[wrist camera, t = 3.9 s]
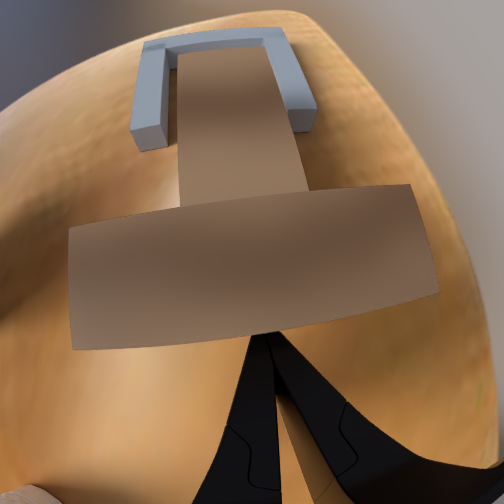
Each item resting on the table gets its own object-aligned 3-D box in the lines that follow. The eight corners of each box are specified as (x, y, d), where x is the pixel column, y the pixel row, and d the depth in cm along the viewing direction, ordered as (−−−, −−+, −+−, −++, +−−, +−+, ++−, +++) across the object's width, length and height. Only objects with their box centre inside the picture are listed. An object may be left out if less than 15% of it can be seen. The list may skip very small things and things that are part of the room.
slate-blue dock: (310, 131, 19) (318, 108, 17) (140, 152, 18) (129, 130, 16) (278, 47, 22) (281, 27, 19) (149, 61, 21) (144, 42, 18)
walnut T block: (355, 311, 16) (440, 292, 8) (148, 342, 15) (72, 350, 7) (311, 137, 19) (342, 49, 11) (139, 158, 18) (97, 74, 10)
